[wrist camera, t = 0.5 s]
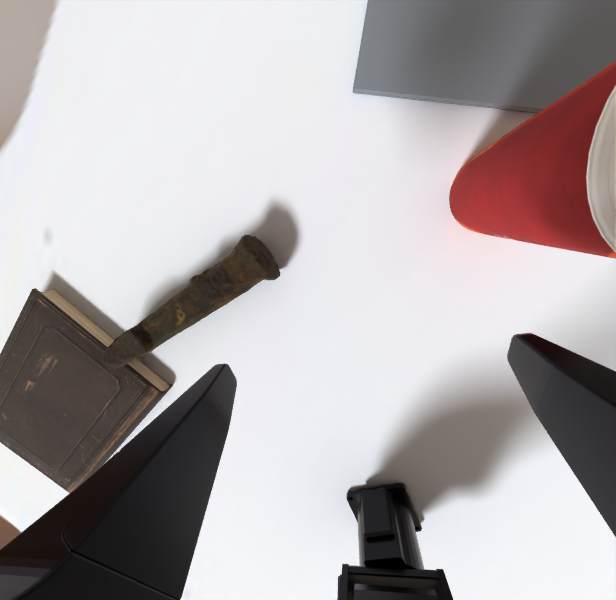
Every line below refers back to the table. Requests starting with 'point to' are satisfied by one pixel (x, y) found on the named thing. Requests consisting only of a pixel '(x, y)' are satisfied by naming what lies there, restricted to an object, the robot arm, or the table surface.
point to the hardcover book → (68, 392)
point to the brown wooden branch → (196, 301)
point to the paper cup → (549, 175)
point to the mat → (484, 50)
